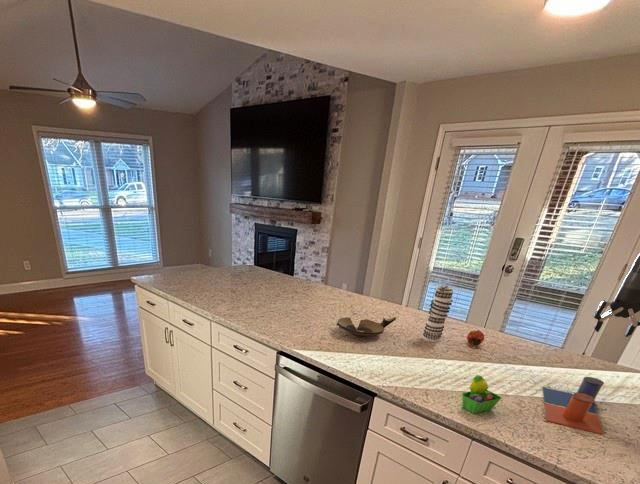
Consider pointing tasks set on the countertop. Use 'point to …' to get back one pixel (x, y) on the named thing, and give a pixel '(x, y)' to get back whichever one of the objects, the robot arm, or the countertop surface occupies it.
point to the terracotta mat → (588, 423)
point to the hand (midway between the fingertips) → (611, 333)
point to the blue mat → (560, 398)
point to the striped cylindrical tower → (438, 313)
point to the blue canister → (590, 386)
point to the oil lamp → (364, 326)
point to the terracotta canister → (578, 407)
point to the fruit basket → (479, 396)
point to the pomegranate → (475, 337)
